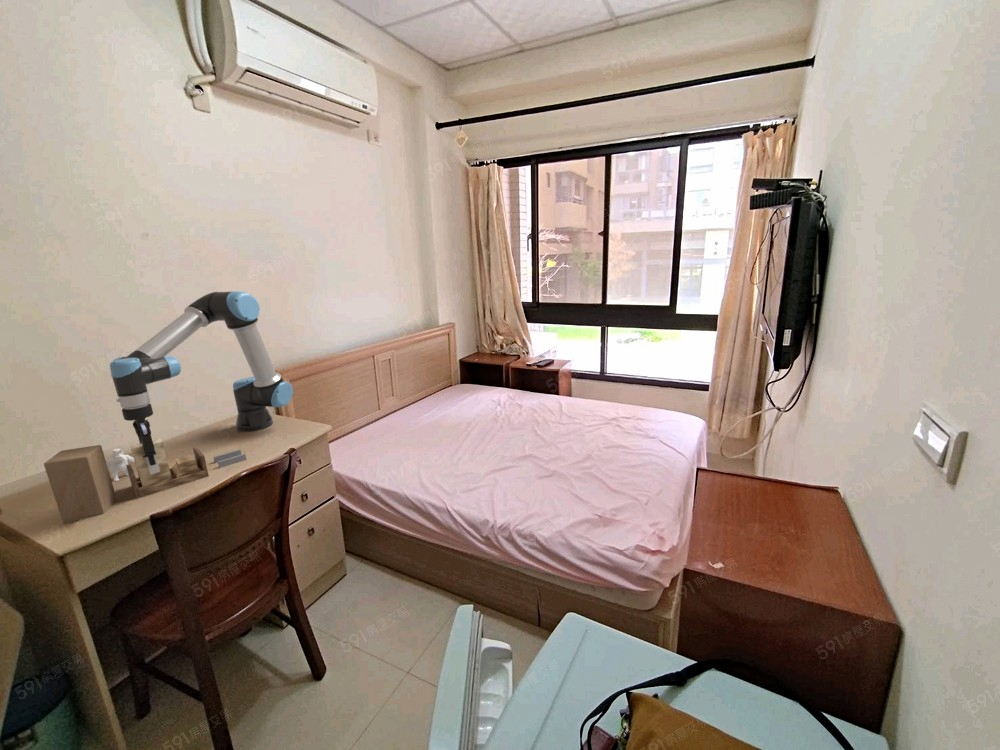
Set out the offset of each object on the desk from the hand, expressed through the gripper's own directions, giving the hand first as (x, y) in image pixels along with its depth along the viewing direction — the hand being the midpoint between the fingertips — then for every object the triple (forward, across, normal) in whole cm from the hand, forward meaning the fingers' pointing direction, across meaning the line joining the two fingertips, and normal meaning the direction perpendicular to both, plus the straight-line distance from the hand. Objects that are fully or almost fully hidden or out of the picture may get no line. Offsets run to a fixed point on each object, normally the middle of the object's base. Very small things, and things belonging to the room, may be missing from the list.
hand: (153, 470), depth 147 cm
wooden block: (+7, +3, -17) cm, 19 cm away
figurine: (+7, -17, -7) cm, 20 cm away
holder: (+7, -2, +23) cm, 24 cm away
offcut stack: (+6, 0, +9) cm, 10 cm away
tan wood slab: (+4, 0, 0) cm, 4 cm away
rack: (+7, 0, +4) cm, 8 cm away
